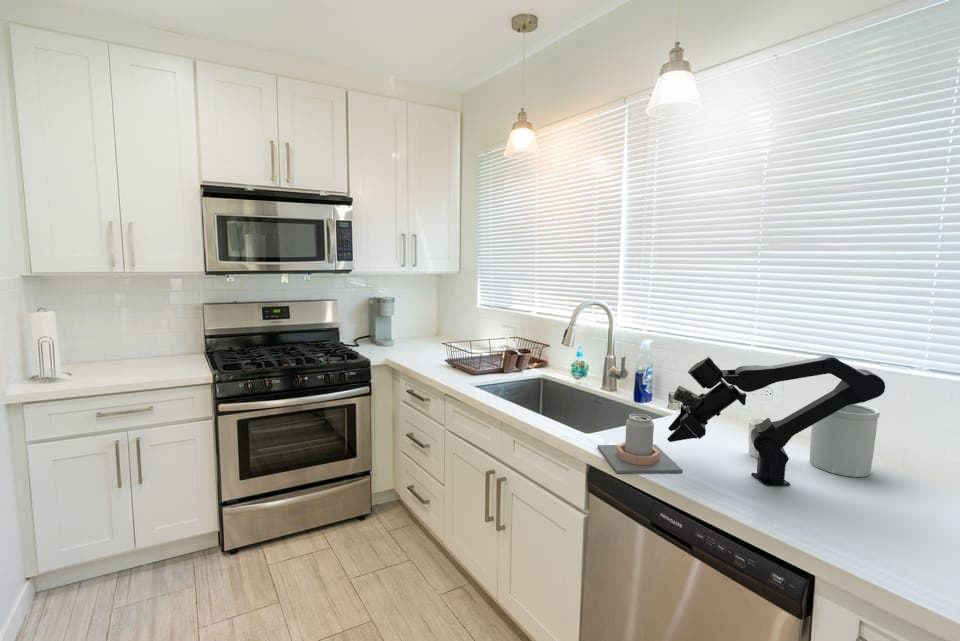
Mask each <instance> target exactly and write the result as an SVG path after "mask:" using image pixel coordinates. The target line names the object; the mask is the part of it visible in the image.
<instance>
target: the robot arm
mask: <svg viewBox="0 0 960 641" xmlns="http://www.w3.org/2000/svg"><path fill="white" fill-rule="evenodd" d="M687 374H689V375H690V376H691V378H692V379H694V380H695V381H696V383H697V384H698V385H699V386H700V387H701V388H702V389H709V391H708V392H706V393H705V392H703V393H701V394H696V393H694V392H693V391H691V390H689V389H688V388H685V387H683V386H681V385H678V387H676V390H675V391H674V393H673V398H672V399H674V400H675V401H677V402H680V403H681V404H680V411H679V414H678V416H676V418H675V419H674V420H673V421H672V423H671V424H670V425H669V426H668V428H667V429H668V431H670V432H672V431H673V432H672V433H671V434H670V435H669V436H668V437H667V438H666V439H667V441H668V442H670V443H673V442H678V441H684V440H691V439H699V440H701V439H702V438H703V437H705V436H706V433H707V430H706V425H708V423H709V422H708V421H709V420H711V419H713V418H714V417H715V416H716V417H719V416H720V415H721V412H723V411H724V410H725V409H727V408H729V406H731V405H732V404H733V403H735V402H736V401H739V403H740V404H741V405H742V406H746V403H747V402H746V399H747V396H748V395H747V394H746V393H752V392H755V391H758V390H761V389H765V388H767V387H768V386H770V385H772V384H775V383H779V382H784V381H790V380H798V379H804V378H809V377H816V376H822V375H828V374H830V375H833V377H836V378H838V379H839V380H840V381H839V383H838V384H836V386H835V388H834V389H832V390H831V391H829V392H828V393H826V394H823V395H822V396H820V397H819V398H817V399H814V400H815V401H814V400H813V401H812V402H810V403H809V404H807V405H805V406H803V407H801V408H799V409H798V410H796V411H794V412H792V413H791V414H789V415H787V416H785V417H784V418H782V419H779V420H775V421H774V422H771V421H772V420H771V418H770V417H767V418H764V419H765V420H764V421H763V422H762V423H760V424H755V428H754V429H753V430H752V431H751V440H752V442H753V445H754V447H755V449H756V450H757V451H758V452H759V456H758V458H757V462H756V463H757V465H756V472H752V473H751V477H753V478H755V479H756V480H757V481H759V482H761V483H762V484H763V485H764V486H768V487H769V486H790V485H791V483H790V482H789V481H787V479H785V478H786V477H785V476H786V466H787V463H788V461H789V459H790V458H789V456H788V454H787V452H786V450H785V449H784V447H785V446H787V444H788V443H789V441H790V440H791V439H792V438H793V437H794V436H796V435H797V434H799V433H801V432H802V431H804V430H807V429H809V427H810V428H811V427H812V425H813V424H815V423H817V422H819V421H821V420H822V419H824V418H826V417H828V416H830V415H831V414H833V413H835V412H837V411H839V410H840V409H842V408H844V407H846V406H848V405H852V404H857V403H859V404H863V403H865V402H869V401H872V400H874V399H877V398H879V397H881V396H882V395H884V393H885V389H886V383H885V381H884V379H882V377H880V376H879V375H878V374H875V373H873V372H872V371H870V370H868V369H865V368H864V369H863V368H861V369H860V368H859V369H856V368H855V367H852V366H850V365H849V364H847V363H845V362H843V361H841V360H839V359H838V358H837V357H835V356H833V355H829V354H826V355H822V356H819V357H814V358H808V359H802V360H797V361H792V362H786V363H780V364H774V365H756V364H755V365H754V364H753V365H741V366H737V368H735V369H720V367H719V366H718V365H717V364H716V363H715V362H714V360H713V359H712V358H711V357H710V356H707V357H706V358H704V359H703V360H700V361H699V362H696V363H695V364H694V365H692V367H690V368H689V369H688V372H687ZM739 390H740V391H742V392H740V391H739Z"/></svg>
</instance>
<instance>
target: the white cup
mask: <svg viewBox="0 0 960 641" xmlns="http://www.w3.org/2000/svg"><path fill="white" fill-rule="evenodd" d="M765 419H766V418H752V419H749V420H748V454H749V455H750V457H753V458H756V459H758V456H759V452H758V451H757V450H756V449H755V447H754V445H753V442H752V440H751V431H752V430H753V429H754V428H755V424H760V423H762V422H763V421H764V420H765ZM771 422H774V421H773V420H771Z"/></svg>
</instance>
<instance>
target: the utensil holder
mask: <svg viewBox="0 0 960 641" xmlns="http://www.w3.org/2000/svg"><path fill="white" fill-rule="evenodd" d="M815 400H816V399H814V400H813V401H815ZM880 414H881V412H880V410H879V409H877V408H876V407H873V406H870V405H867V404H863V403H857V404H852V405H848V406H846V407H844V408H842V409H840V410H839V411H837V412H835V413H833V414H831V415H830V416H828V417H826V418H824V419H822V420H821V421H819V422H817V423H815V424H813V425H811V426H810V428H811V430H810V443H809V444H810V445H809V462H810V464H811V465H813V466H814V467H816V468H817V469H819V470H822V471H825V472H828V473H831V474H835V475H838V476H839V475H840V476H845V477H851V478H852V477H853V478H854V477H855V478H863V477H867V476H870V474H871V470H872V464H873V459H874V451H875V442H876V436H877V429H878V420H879V417H880V416H881V415H880Z"/></svg>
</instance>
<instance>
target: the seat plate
mask: <svg viewBox="0 0 960 641" xmlns="http://www.w3.org/2000/svg"><path fill="white" fill-rule="evenodd" d="M597 449H598V450H599V452H600V453H601V454H602V456H603V458H604V459H605V460H606V461H607V463H608V464H609V465H610V467H611V468H612V469H613V470H614V472H615V473H616V474H683V469H682V468H681V467H680V466H679V465H678V464H677V463H676V462H675V461H674V460H673V459H671V458H670V457H669V455H667V453H665V452H664V451H663V450H662V449H661V448H660V447H659V446H658V445H657V444H653V449H652V455H651V456H636V455H633V454H629V453H626V452H625V441H624V442H621V443H619V444H606V445H605V444H598V445H597ZM673 472H675V473H673Z"/></svg>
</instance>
